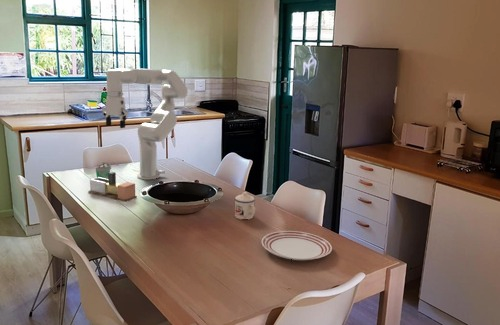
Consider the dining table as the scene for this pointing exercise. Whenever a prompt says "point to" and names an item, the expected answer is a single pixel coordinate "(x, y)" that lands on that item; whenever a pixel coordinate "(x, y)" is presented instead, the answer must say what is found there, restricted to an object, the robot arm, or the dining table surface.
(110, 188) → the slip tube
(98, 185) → the white rectangular block
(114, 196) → the base board
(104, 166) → the food container
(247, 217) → the teacup with lid
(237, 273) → the dining table surface
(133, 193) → the socket block
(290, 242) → the dinner plate
